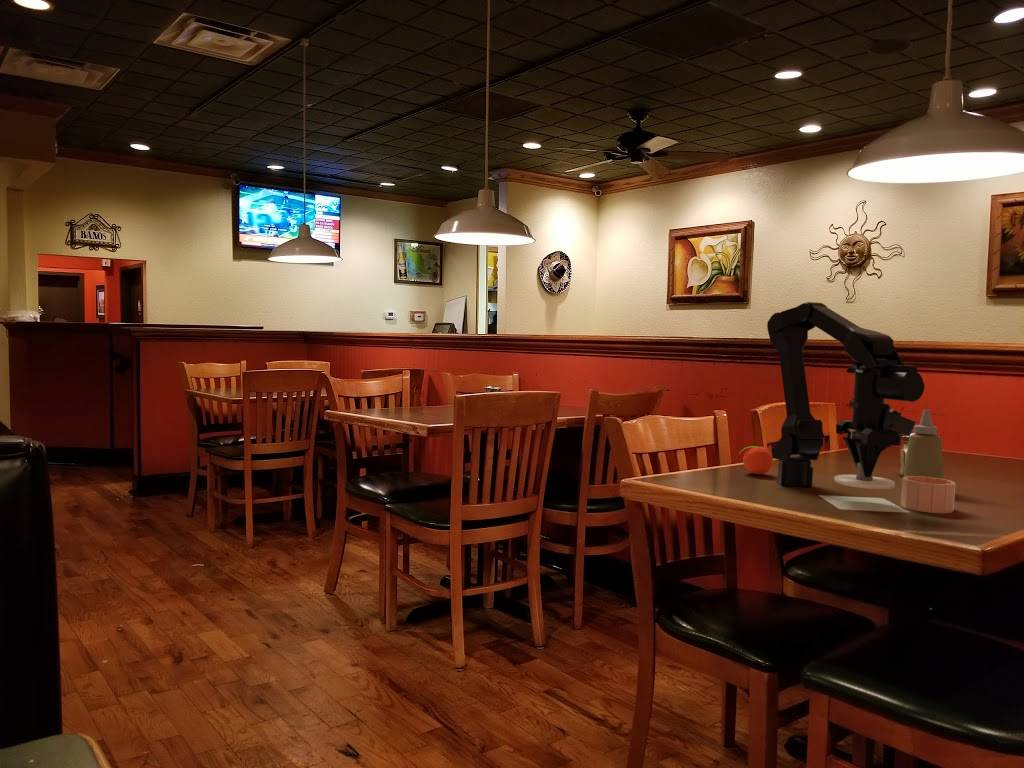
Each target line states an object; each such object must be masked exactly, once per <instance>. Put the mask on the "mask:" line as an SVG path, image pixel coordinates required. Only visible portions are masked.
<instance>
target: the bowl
mask: <svg viewBox="0 0 1024 768" xmlns="http://www.w3.org/2000/svg"><path fill="white" fill-rule="evenodd" d="M901 481H902V482H901V483H902V484H901V495H900V507H902V508H905V509H906V510H907V509H908V510H912V511H916V512H923V513H930V514H932V513H933V514H951V513H954V509H955V498H956V497H955V495H956V484H957V483H956V482H955V481H952V480H949V479H944V478H942V479H940V478H933V477H923V476H906V477H905V476H903V477H902V480H901Z"/></svg>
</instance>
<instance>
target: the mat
mask: <svg viewBox="0 0 1024 768" xmlns="http://www.w3.org/2000/svg"><path fill="white" fill-rule="evenodd" d="M818 496H819V497H820V498H821V499H822V500H825V501H826V502H828V503H829V504H831V505H832V506H834V507H835V508H837V509H838V510H840V511H841V510H842V511H843V510H845V511H864V512H866V511H867V512H883V513H884V512H886V513H888V512H889V513H905V514H906V513H907V514H910V513H911V512H910V511H909V510H907V509H906V508H905V509H904V507H902V506H898V505H897V504H894V503H893V502H891V501H889V500H887V499H886V498H884V497H882V498H881V497H868V496H867V497H863V496H845V495H844V496H840V495H822V494H821V495H818Z"/></svg>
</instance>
